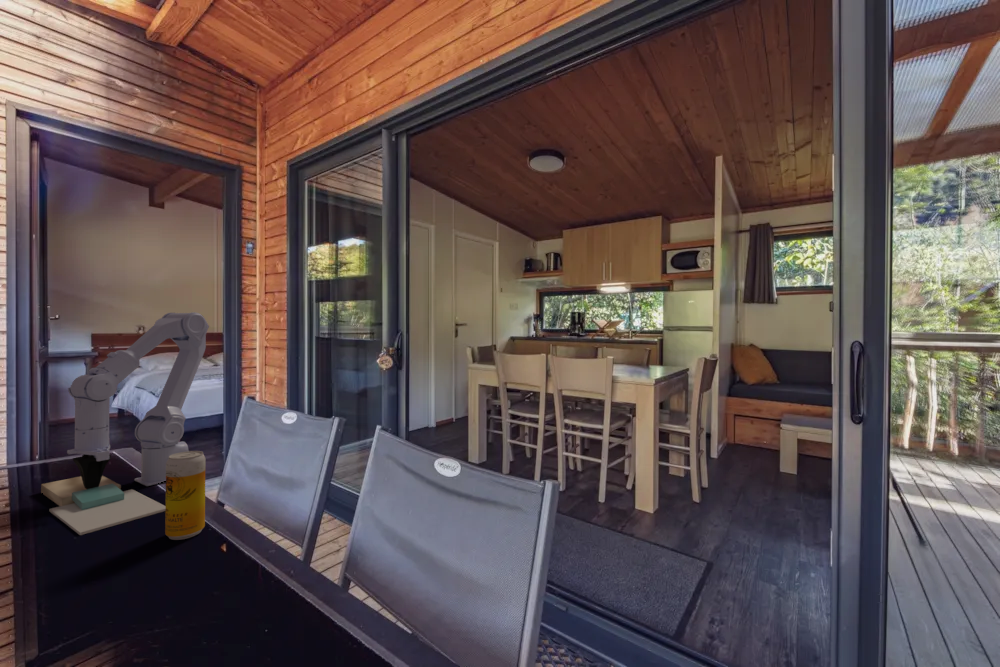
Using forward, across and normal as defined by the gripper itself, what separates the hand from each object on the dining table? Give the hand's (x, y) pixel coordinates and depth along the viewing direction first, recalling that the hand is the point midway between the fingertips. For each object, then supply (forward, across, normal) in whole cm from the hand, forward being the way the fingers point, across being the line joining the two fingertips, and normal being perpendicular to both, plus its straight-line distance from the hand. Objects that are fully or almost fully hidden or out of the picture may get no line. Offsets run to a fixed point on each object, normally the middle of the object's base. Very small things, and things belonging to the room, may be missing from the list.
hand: (91, 487), depth 98 cm
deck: (+3, -8, 0) cm, 8 cm away
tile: (+2, +4, 0) cm, 4 cm away
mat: (+3, +11, 0) cm, 11 cm away
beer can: (+3, +36, +4) cm, 37 cm away
